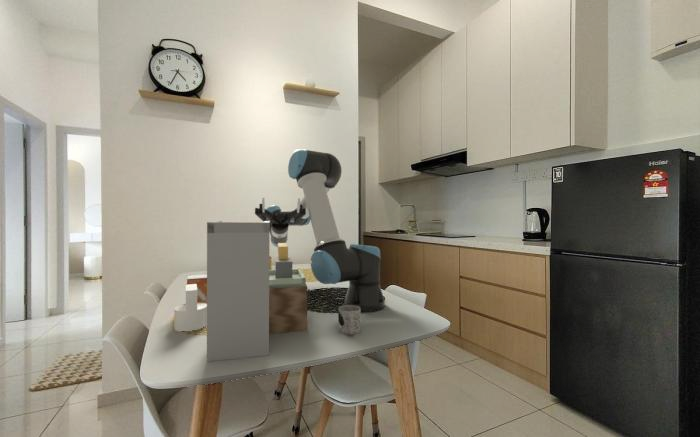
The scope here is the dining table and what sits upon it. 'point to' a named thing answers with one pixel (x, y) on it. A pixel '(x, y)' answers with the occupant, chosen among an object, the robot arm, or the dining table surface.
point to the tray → (287, 280)
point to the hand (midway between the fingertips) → (281, 201)
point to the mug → (349, 319)
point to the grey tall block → (237, 290)
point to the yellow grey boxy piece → (283, 262)
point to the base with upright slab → (190, 312)
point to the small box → (199, 286)
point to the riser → (287, 309)
